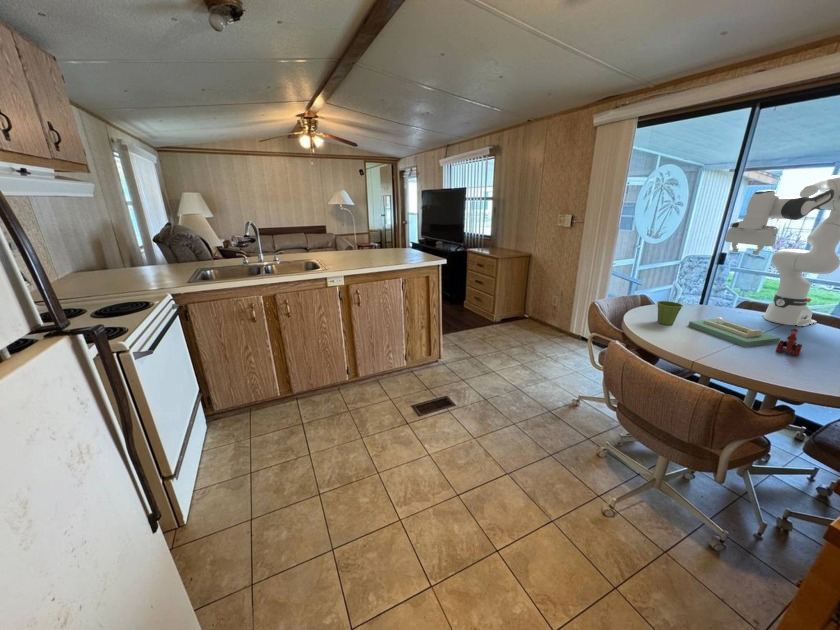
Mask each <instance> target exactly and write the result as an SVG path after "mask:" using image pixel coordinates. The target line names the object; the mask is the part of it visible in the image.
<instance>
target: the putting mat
mask: <svg viewBox="0 0 840 630" xmlns="http://www.w3.org/2000/svg"><path fill="white" fill-rule="evenodd" d="M714 319H715V318H713V319H712V318H711V319H702V320H694V321H693V320H692V321H689V322H688V326H687V327H690V328H693V329H695V330H699V331H701V332H704V333H706V332H707V334H709V335H711V336H715V337H718V338H719V339H720V338H721V339H723V340H725V339H726V340H725V341H728V340H729V341H728V342H732V343H733V342H734V344H736V343H737V345H739V346H742V347H744V346H745V348H746V346H747V347H755V346H763V345H771V344H778V343H780V341H781V337H779V336H777V335H772V334H770V333H766V332H764V331H762V329H754V328H750V327H747V326H746V325H745V326H744V325H742V324H738V323H735V322H732V321H728V320H725V319H724V323H723V324H721V325H720V324H717V323H714Z"/></svg>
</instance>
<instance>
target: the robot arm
mask: <svg viewBox="0 0 840 630" xmlns="http://www.w3.org/2000/svg"><path fill="white" fill-rule="evenodd" d="M776 193H777V192H776V190H775V189H763V190H761V189H760V190H756V191H755V192H753V194H751V197H750V199H749V201H748V204H747V207H746V212H745V215H744V217H743V220H741V221H736V222H732V223H730V225H729V228H728V230H727V232H726V234H725V238H724V241H725V242H726V243H731V246H732V250H731V251H732V253H738V252H739V248H737V245H739V244H743V245H752V246H753V245H754V246H757V247H756V248H757V249H756V250H753V252H752V255H754V256H757V255H759V254H760V251H762V250H763V249H764V248H765V247H773V246H774V245H775V244H776V239H777V234H778V231H779V229H778V227H776V226H774V225H767V224H768V222H769V219H783V220H793V221H795V220H796V221H797V220H800V219H802V218H804V217H807V215H808V214H809V213H811V212H812V211H814V210H820V211H824V210H825V211H826V210H827V211H830V213H829V214H828V215H827V216H826V217H825V218H823V219H822V220H821V221H820V222H819V224H817V226H816V227H815V228H814V229H813V230H812V231H811V233H809V235H808V236H807V239H806V241H807V243H808V244H809V245H810V246H811V249H808V250H806V249H799V248H797V249H796V248H783V249H779V250H777V251H776V252H775V253H773V255H772V257H771V264H772V265H773V266H774V268H776V270H777V272H778V274H779V285H778V287H777V288H778V289H777V292H776V293H775V295H774V296H773V300H772V302H770V303H769V304H768V306H767V309H766V311H765V312H764V313H762V315H761V316H762V317H763V319H765V320H767V321H769V322H773V323H777V324H781V325H787V326H795V325H797V326H796V327H801V326H804V327H807V326H810V325H809V324H811V325H814V324H817V320H815V319H812V316H813V311H812V310H811V309H810V308H809V307H808V305H807V303H810V302H811V301H812V298H810V297H809V298H808V297H807V296H808V293H809V291H810V290H811V289H810V288H811V283H810V281H809V280H807V279H806V278H805V277H804V275H803V273H807V274H814V275H828V274H831V273H833V272H834V271H836V270H837V269H838V268H839V267H840V257H839V256H838V255H837V254H836V248H837V246H838V244H839V243H840V175H839V174H837V175H836V174H835V175H832V176H831V175H830V176H827V177H823V178H820V179H817V180H813V181H812V182H810V183H808V184H806V185H804V186H803V187H802V189H801V190H800V192H799V196H796V197H793V196H791V197H788V196H787V197H780V196H778V195H777V194H776ZM813 323H814V324H813Z"/></svg>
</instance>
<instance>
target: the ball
mask: <svg viewBox="0 0 840 630" xmlns="http://www.w3.org/2000/svg"><path fill="white" fill-rule="evenodd" d="M713 319H714V323H717V324H720V325H721V324H723V323H724V320H725V319H724V318H723V317H722V316H721V317H720V316H717V317H715V318H713Z"/></svg>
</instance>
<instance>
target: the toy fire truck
mask: <svg viewBox="0 0 840 630" xmlns="http://www.w3.org/2000/svg"><path fill="white" fill-rule="evenodd" d="M797 333H798V329H796V328H792V329H790V335H789V336H787V337H786V340H781V339H780V341H779V343H777V347H776V349H775V352H776V353H781V352H782V350H783V351H784V352H785V353H789V354H790V353H791V352H792V353H793V354H792V356H794V357H799V355H800V352H801V350H802V348H803V344H802V343H797V340H798V338H797Z"/></svg>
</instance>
